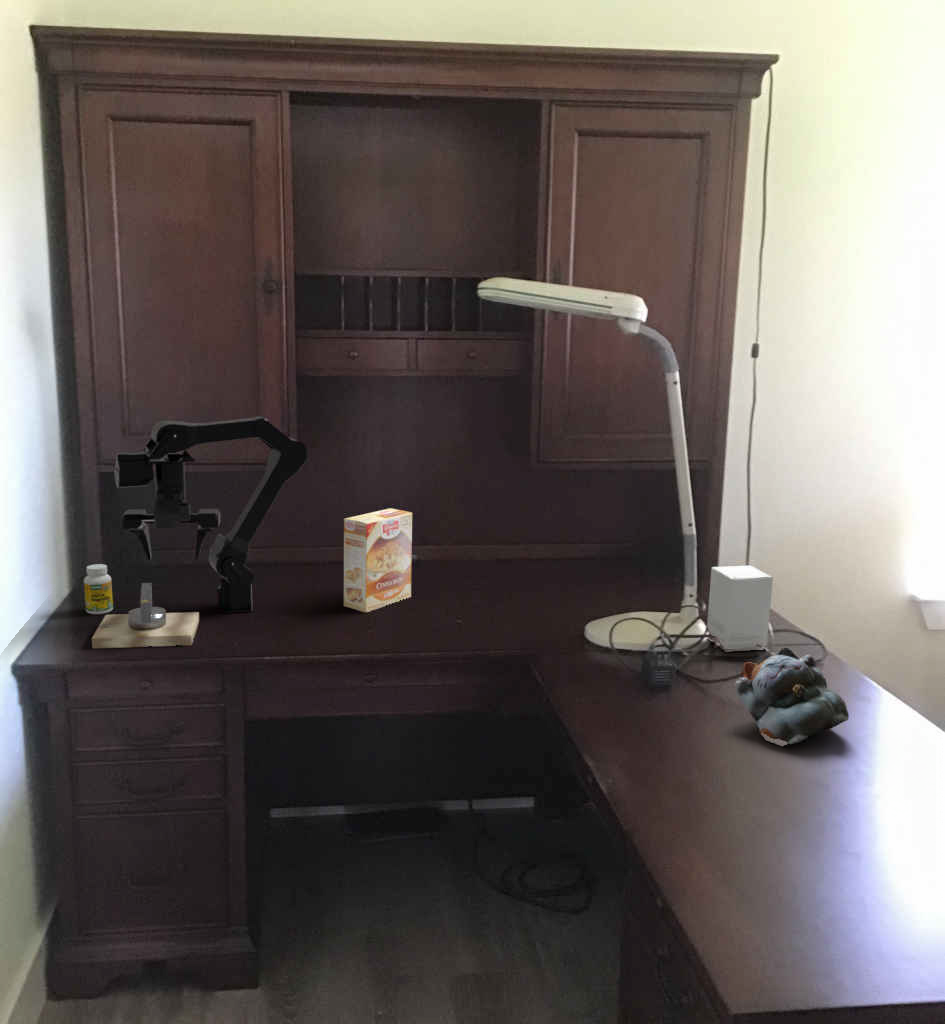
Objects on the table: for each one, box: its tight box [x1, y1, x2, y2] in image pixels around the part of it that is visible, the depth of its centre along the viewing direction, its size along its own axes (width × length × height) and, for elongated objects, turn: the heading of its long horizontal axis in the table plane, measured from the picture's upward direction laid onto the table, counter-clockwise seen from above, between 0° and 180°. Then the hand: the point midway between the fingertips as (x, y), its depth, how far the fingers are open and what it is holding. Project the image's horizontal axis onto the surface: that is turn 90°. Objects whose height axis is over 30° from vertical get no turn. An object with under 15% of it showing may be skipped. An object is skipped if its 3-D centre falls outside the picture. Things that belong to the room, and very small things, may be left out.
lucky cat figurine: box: [734, 647, 850, 745], centre depth 159 cm, size 15×12×14 cm
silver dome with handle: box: [127, 582, 167, 630], centre depth 196 cm, size 13×7×7 cm, turn 16°
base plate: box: [91, 611, 200, 649], centre depth 197 cm, size 18×14×2 cm
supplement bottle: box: [83, 563, 114, 615], centre depth 210 cm, size 5×5×10 cm
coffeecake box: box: [343, 507, 413, 613], centre depth 219 cm, size 15×7×20 cm, turn 143°
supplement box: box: [706, 565, 774, 649], centre depth 198 cm, size 9×9×15 cm
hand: (173, 559), depth 206 cm, fingers open, 9 cm apart
